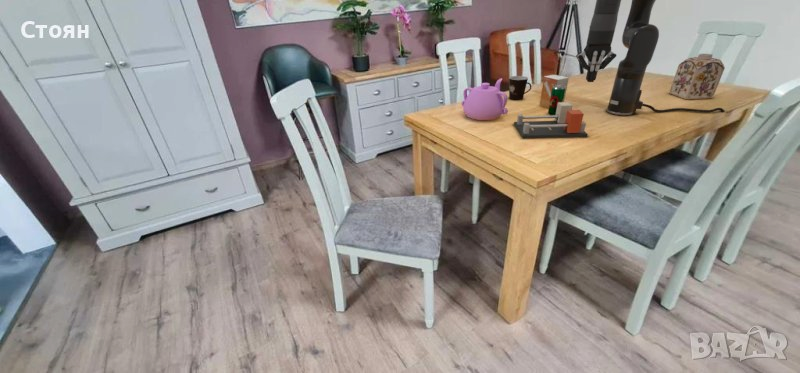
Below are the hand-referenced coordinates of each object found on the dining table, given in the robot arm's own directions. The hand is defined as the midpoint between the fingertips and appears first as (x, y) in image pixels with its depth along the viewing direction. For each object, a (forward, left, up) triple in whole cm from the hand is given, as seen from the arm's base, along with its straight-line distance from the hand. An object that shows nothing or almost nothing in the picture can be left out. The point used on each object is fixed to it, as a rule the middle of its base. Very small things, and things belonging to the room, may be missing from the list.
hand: (590, 81), depth 120 cm
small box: (+3, -25, -17) cm, 30 cm away
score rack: (+13, +5, -16) cm, 22 cm away
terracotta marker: (+7, +10, -15) cm, 19 cm away
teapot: (+33, -16, -17) cm, 41 cm away
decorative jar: (-61, -35, -17) cm, 72 cm away
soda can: (+5, -14, -17) cm, 22 cm away
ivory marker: (+7, 0, -15) cm, 16 cm away
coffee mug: (+15, -38, -17) cm, 44 cm away
